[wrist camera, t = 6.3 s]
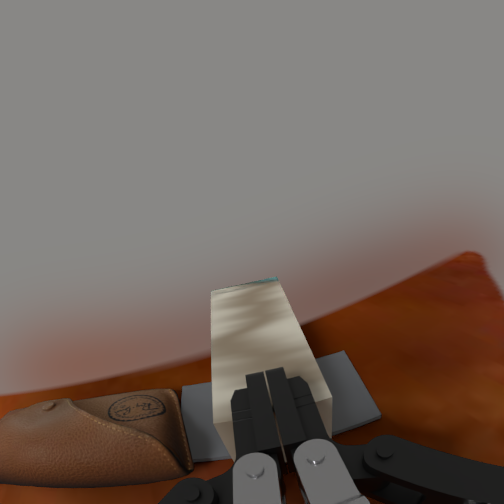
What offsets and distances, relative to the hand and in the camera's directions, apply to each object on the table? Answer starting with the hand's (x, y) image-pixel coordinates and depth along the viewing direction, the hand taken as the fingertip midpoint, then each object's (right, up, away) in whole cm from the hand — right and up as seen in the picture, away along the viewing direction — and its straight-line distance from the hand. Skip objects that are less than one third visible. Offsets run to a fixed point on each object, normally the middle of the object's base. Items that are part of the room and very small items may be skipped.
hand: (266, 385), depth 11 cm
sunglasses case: (-13, -9, +3) cm, 16 cm away
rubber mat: (+1, -5, +6) cm, 8 cm away
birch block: (+1, -4, +1) cm, 4 cm away
